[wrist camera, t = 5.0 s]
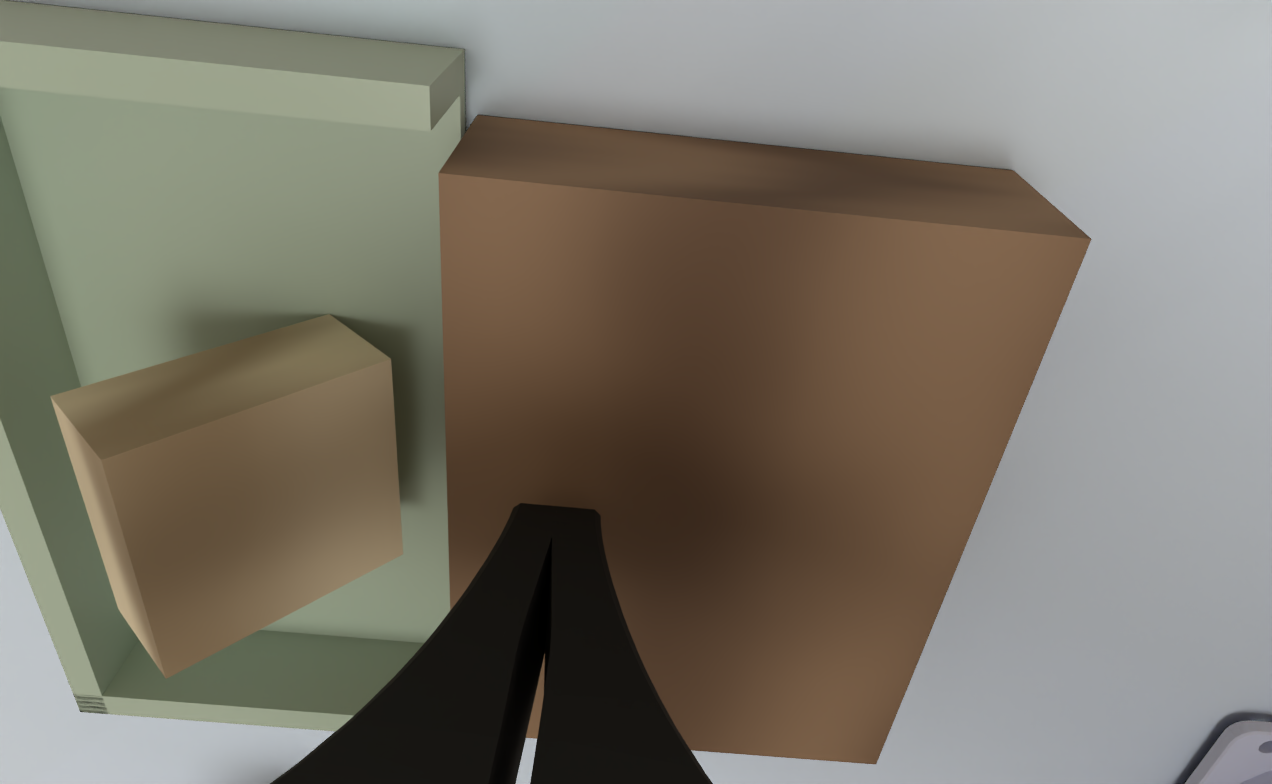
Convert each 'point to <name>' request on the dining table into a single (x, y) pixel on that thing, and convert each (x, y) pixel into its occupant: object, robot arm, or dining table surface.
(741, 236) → the walnut board
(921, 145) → the dining table surface
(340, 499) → the maple tile
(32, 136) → the sage tray
